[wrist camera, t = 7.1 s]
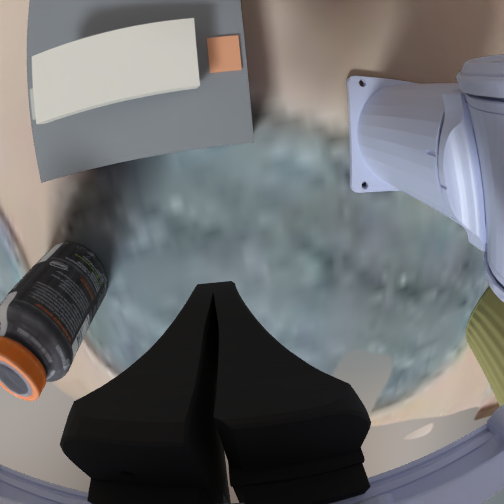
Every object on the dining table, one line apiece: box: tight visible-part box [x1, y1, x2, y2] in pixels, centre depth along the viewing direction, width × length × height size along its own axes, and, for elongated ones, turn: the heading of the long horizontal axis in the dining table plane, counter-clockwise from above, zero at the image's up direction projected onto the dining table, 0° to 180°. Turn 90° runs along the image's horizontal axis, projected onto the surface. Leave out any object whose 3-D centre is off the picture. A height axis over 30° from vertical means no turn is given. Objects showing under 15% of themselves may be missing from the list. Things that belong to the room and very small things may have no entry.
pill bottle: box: [0, 242, 107, 401], centre depth 16 cm, size 6×6×11 cm
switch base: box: [27, 0, 254, 182], centre depth 11 cm, size 13×20×4 cm, turn 5°
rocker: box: [32, 18, 200, 124], centre depth 11 cm, size 8×4×1 cm, turn 95°
